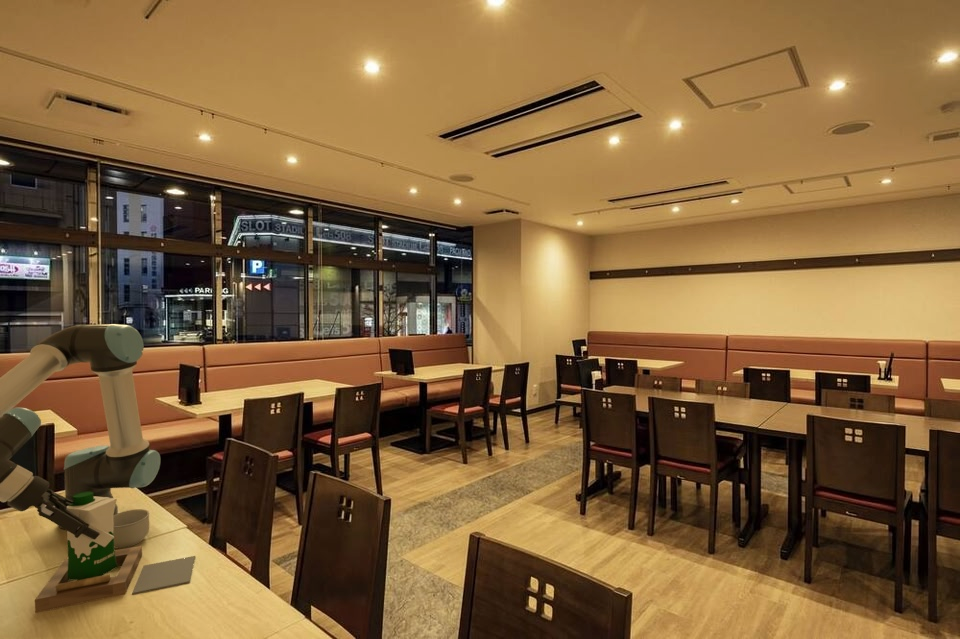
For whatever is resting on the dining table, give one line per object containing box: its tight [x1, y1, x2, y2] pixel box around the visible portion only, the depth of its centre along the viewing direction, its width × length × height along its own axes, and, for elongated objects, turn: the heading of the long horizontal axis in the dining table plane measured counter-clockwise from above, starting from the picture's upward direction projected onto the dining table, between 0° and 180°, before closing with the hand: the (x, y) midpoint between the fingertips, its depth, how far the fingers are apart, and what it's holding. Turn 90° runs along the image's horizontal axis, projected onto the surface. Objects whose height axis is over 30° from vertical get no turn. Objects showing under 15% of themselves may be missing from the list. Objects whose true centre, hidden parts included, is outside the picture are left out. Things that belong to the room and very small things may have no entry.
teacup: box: [113, 508, 150, 549], centre depth 146 cm, size 14×11×8 cm
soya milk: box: [66, 491, 118, 581], centre depth 125 cm, size 9×9×20 cm
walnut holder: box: [34, 545, 143, 613], centre depth 125 cm, size 20×17×5 cm
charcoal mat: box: [131, 555, 196, 595], centre depth 128 cm, size 14×12×1 cm
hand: (107, 534), depth 127 cm, fingers closed on soya milk, 9 cm apart
